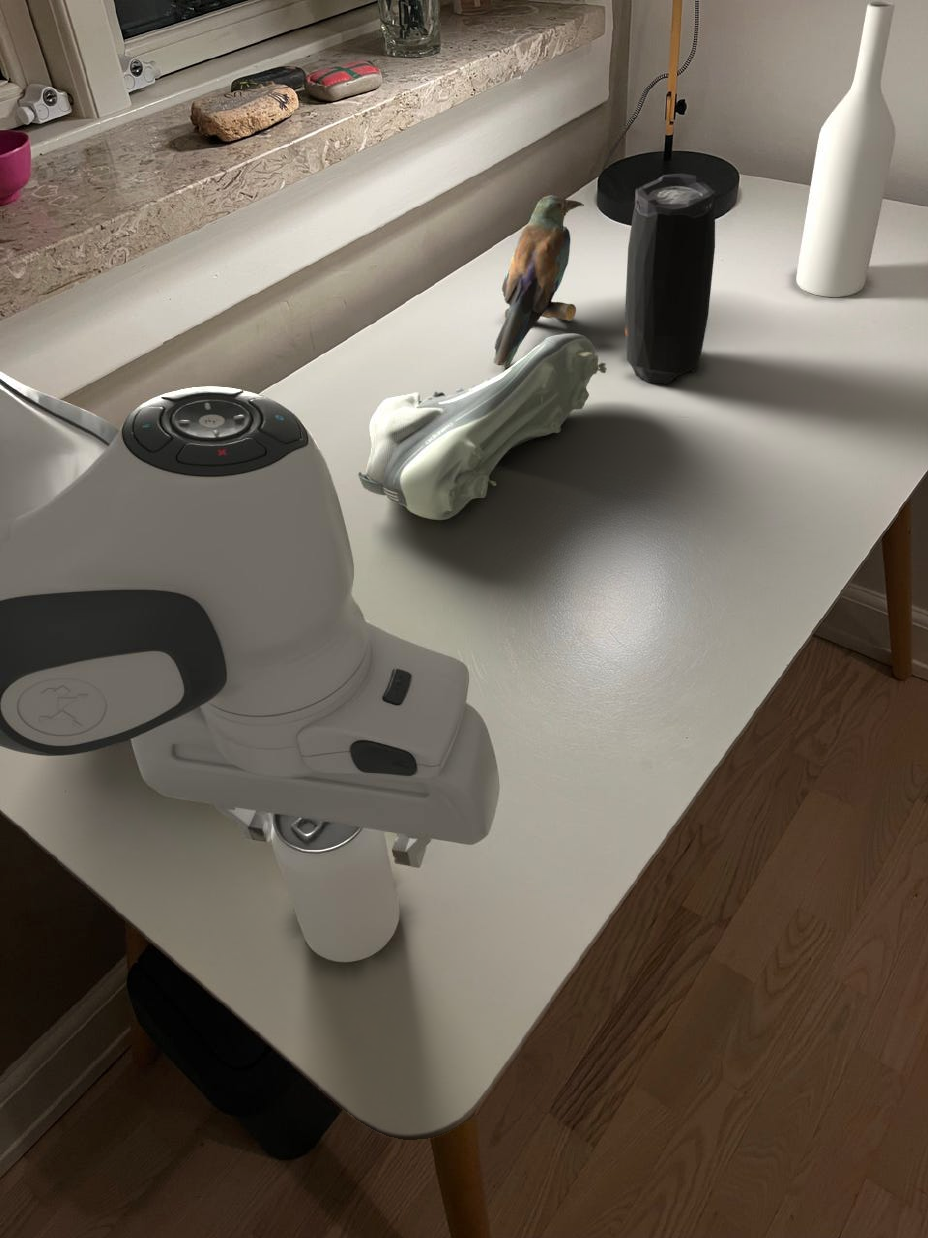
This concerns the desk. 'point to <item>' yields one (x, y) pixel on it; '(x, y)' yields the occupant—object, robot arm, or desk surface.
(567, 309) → the bird figurine
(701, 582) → the desk surface
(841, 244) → the bottle
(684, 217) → the portable speaker
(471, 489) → the baseball cleat
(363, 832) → the can
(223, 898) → the desk surface
